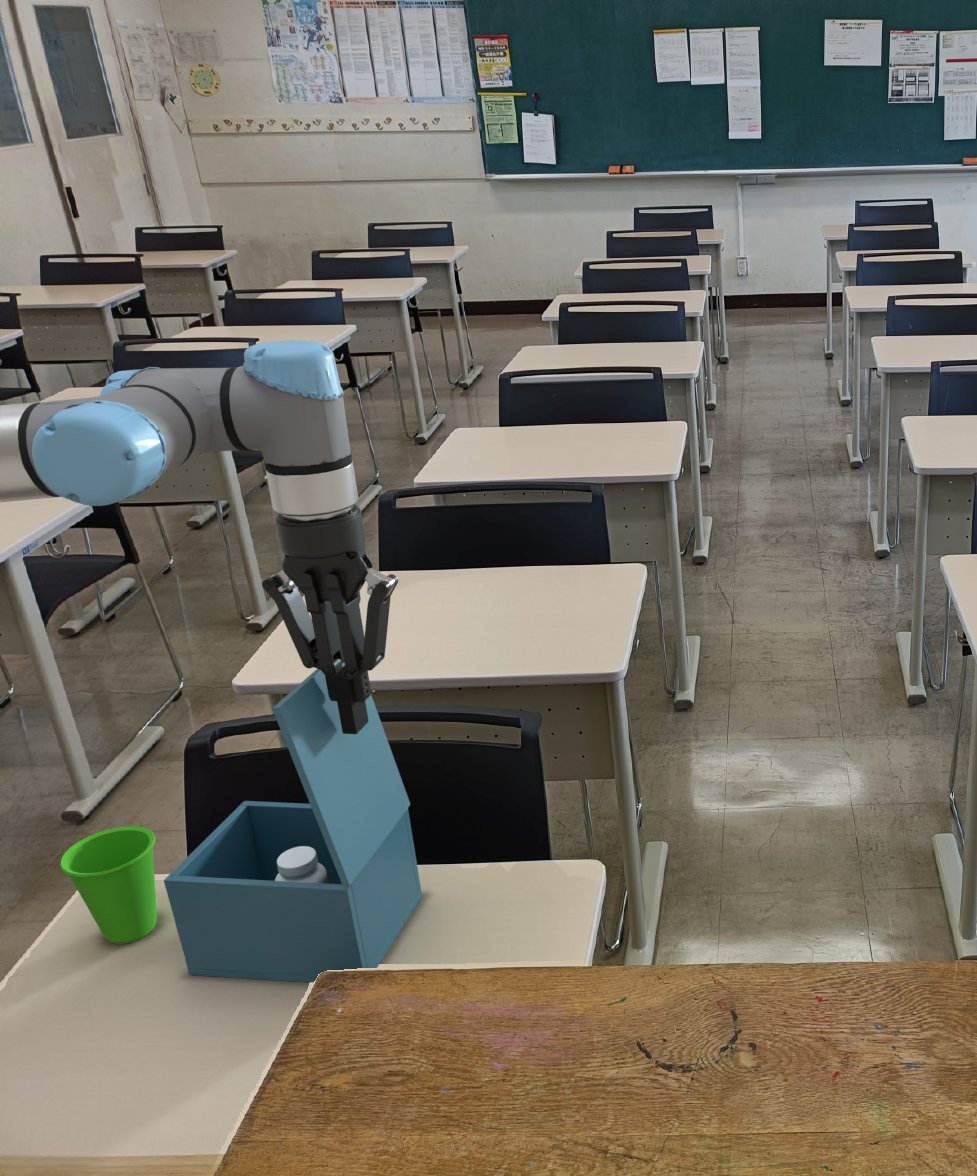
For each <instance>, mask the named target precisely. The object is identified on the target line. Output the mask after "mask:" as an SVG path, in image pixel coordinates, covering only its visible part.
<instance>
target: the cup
mask: <svg viewBox="0 0 977 1176" xmlns="http://www.w3.org/2000/svg"><path fill="white" fill-rule="evenodd" d="M155 844H156V836H155V834H154V832H153V831H152V830H150V829H148V828H147V827H142V826H138V825H124V826H118V827H113V828H107V829H105V830H102V831H98V832H95V833H93V834H90V835H89V836H86V837H85V838H82V839H81V840H79V841H77V842H76V843H75V844H73V845H72V846H70V847H69V848H68V849H67V850H66V851H65V852H64V853H63V855H62V857H61V859H60V864H59V867H60V870H61V872H63V873H65V874H66V875H68V876H69V878H70V879H71V881H72V883H73V885H74V887H75V888H76V890H77V892H78V893H79V895H80V897H81V899H82V901H83V902H84V904H85V906H86V907H87V909H88V911H89V913H90V915H91V916H92V918H93V919H94V921H95V923H96V925H97V927H98V929H99V930H100V932H101V934H102V936H103V937H104V939H105V940H106V941H108V942H109V943H111V944H115V945H124V944H129V943H130V944H131V943H133V942H136V941H138V940H141V939H142V938H144V937H146V936H147V935H149V934H150V933H151V932H152V931H153V930H154V929H155V927H156V924H157V921H158V913H157V896H156V895H157V894H156V879H155V865H154V864H155V863H154V849H153V848H154V845H155Z"/></svg>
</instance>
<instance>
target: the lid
mask: <svg viewBox="0 0 977 1176" xmlns="http://www.w3.org/2000/svg"><path fill="white" fill-rule="evenodd" d="M343 666H345V663H343V664H342V667H343ZM365 702H366V708H367V714H368V720H369V722H368V723H367V724H366V725H365V726H364V727H363V728H362V729H361V730H360V731H359V732H358V733H357V734H343V732H342V727H341V721H340V716H339V710H338V705H337V701H331V700H330V698H329V695H328V690H327V684H326V679H325V675H324V673H323V672H322V671H321V670H319V669H317V668H315V670H314V671H312V673H311V674H309V675H308V676H307V677H306V678H305V679H304V680H302V681H301V682H300V683H299V684H298V685H297V686H295V688H293V689H292V690H291V691H290V692H289V693H288V694H286V695H285V696H284V697H282V699H280V701H278V703H276V704H275V705H274V706H273V707H272V708H271V709H272V711H273V714H274V717H275V719H276V722H277V724H278V727H279V729H280V732H281V734H282V736H283V737H282V738H283V740H284V743H285V744H286V747H287V749H288V752H289V754H290V756H291V760H292V762H293V764H294V767H295V769H296V771H297V772H296V773H297V774H298V775H297V776H298V777H299V780H300V783H301V784H302V787H303V790H304V792H305V795H306V798H307V800H308V802H309V804H310V805H311V807H312V810H313V812H314V815H315V817H316V820H317V822H318V825H319V828H320V830H321V833H322V835H323V838H324V840H325V843H326V845H327V848H328V850H329V853H330V855H331V858H332V860H333V863H334V865H335V868H336V870H337V873H338V875H339V878H340V880H341V883H342V885H343V886H350V885H351V883H352V882H353V881H354V879H355V878H356V877H357V875H358V874H359V873H360V871H361V870H362V869H363V867H364V866H365V865H366V863H367V862H368V861H369V859H370V858H371V857H372V855H373V854H374V853H375V851H376V850H377V849H378V847H379V846H380V845H381V843H382V842H383V841H384V839H385V838H386V837H387V835H388V834H389V833H390V831H391V830H392V828H393V827H394V826H395V824H396V823H397V822H398V820H399V819H400V818H401V816H402V815H403V814H404V812H405V811H406V810H407V808H408V809H409V807H410V806H411V802H410V798H409V796H408V793H407V791H406V788H405V786H404V783H403V778H402V777H401V773H400V771H399V769H398V765H397V763H396V759H395V758H394V755H393V752H392V749H391V746H390V743H389V740H388V738H387V734H386V732H385V730H384V727H383V724H382V721H381V718H380V715H379V712H378V710H377V706H376V704H375V702H374V698H373V696H372V693H371V694H370V696H369V697H368V698H367V699H366V700H365Z"/></svg>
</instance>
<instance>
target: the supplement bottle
mask: <svg viewBox="0 0 977 1176" xmlns="http://www.w3.org/2000/svg"><path fill="white" fill-rule="evenodd" d="M277 866H278V872H279V873H278V875H277V876H276V878H275V881H287V882H306V883H325V884H329V882H328V877H327V872H326V869H325V867H324V866H323V865H322V864H320V863H318V858H317V854H316V851H315V850H314V849H313V848H311V847H308V846H300V847H295V848H292V849H289V850H287V851H285V852H284V853H282V854H281V855H280V856H279V857H278V859H277Z"/></svg>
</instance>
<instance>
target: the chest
mask: <svg viewBox="0 0 977 1176" xmlns="http://www.w3.org/2000/svg"><path fill="white" fill-rule="evenodd" d="M300 846H308V847H311V848H313V849H314V850H315V851H316V854H317V858H318V863H320V864H322V865H323V866H324V867H325V869H326V872H327V877H328V882H329V884H325V883H306V882H287V881H275V878H276V876H277V875H278V873H279V872H278V866H277V859H278V857H279V856H280V855H281V854H282V853H284V852H285V851H287V850H289V849H292V848H295V847H300ZM419 874H420V873H419V868H418V862H417V856H416V850H415V844H414V836H413V831H412V825H411V819H410V813H409V807H408V808H407V810H406V811H405V812H404V814H403V815H402V816H401V818H400V819H399V820H398V822H397V823H396V824H395V826H394V827H393V828H392V830H391V831H390V833H389V834H388V835H387V837H386V838H385V839H384V841H383V842H382V843H381V845H380V846H379V847H378V849H377V850H376V851H375V853H374V854H373V855H372V857H371V858H370V859H369V861H368V862H367V863H366V865H365V866H364V867H363V869H362V870H361V871H360V873H359V874H358V875H357V877H356V878H355V879H354V881H353V882H352V883H351V885H350V886H343V885H342V883H341V880H340V878H339V875H338V873H337V870H336V868H335V865H334V863H333V860H332V858H331V855H330V853H329V850H328V848H327V845H326V843H325V840H324V838H323V835H322V833H321V830H320V828H319V825H318V822H317V820H316V817H315V815H314V812H313V810H312V807H311V805H310V803H301V802H300V803H299V802H298V803H297V802H296V803H295V802H277V801H257V800H255V801H254V800H243V802H241V803H240V804H239V805H238V806H237V808H235V810H234V811H232V813H230V814H229V815H228V817H226V818H225V819H224V820H223V821H222V822H221V823H220V824H219V825H218V826H217V827H216V828H215V829H214V830H213V831H212V832H211V833H210V834H209V835H208V836H207V837H206V838H205V839H204V840H203V841H202V842H201V843H200V844H199V845H198V846H197V847H196V848H195V849H194V850H193V851H191V853H190V854H188V856H187V857H186V858H185V859H183V860H182V861H181V863H179V865H178V866H177V867H176V868H175V869H173V870H172V871H171V873H170V874H168V876H166V877H165V878H164V879H163V883H164V888H165V890H166V894H167V898H168V903H169V905H170V909H171V913H172V916H173V919H174V920H173V921H174V924H175V927H176V930H177V934H178V938H179V942H180V945H181V950H182V953H183V957H184V961H185V965H186V967H187V971H188V975H189V976H200V977H217V978H218V977H219V978H235V979H250V980H251V979H252V980H264V981H265V980H266V981H268V980H269V981H281V982H282V981H283V982H299V983H314V981H315V980H316V978H317V976H318V974H320V973H321V972H324V971H327V970H344V969H357V968H377V969H378V968H379V965H380V964H381V963H382V961H383V960H384V957H385V956H386V954H387V953H388V951H389V950H390V948H391V947H392V945H393V944H394V942H395V941H396V938H398V935H399V934H400V933H401V931H402V929H403V928H404V926H405V924H406V923H407V921H409V918H410V917H411V915H412V914H413V912H414V911H415V908H417V906H418V904H419V903H420V901H421V899H422V897H423V892H422V886H421V881H420V875H419Z"/></svg>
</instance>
